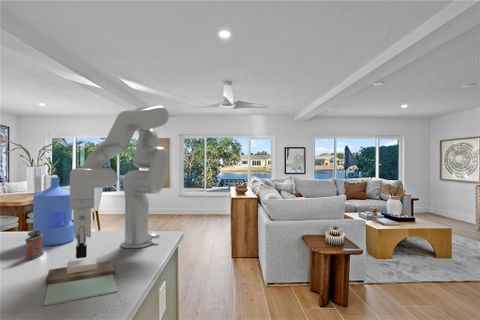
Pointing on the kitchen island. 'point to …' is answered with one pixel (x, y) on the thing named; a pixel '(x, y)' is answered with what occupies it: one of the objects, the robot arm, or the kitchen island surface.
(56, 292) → the mat
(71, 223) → the water jug
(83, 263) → the tile
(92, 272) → the riser
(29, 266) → the kitchen island surface
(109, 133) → the robot arm
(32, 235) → the lighter
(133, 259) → the kitchen island surface
